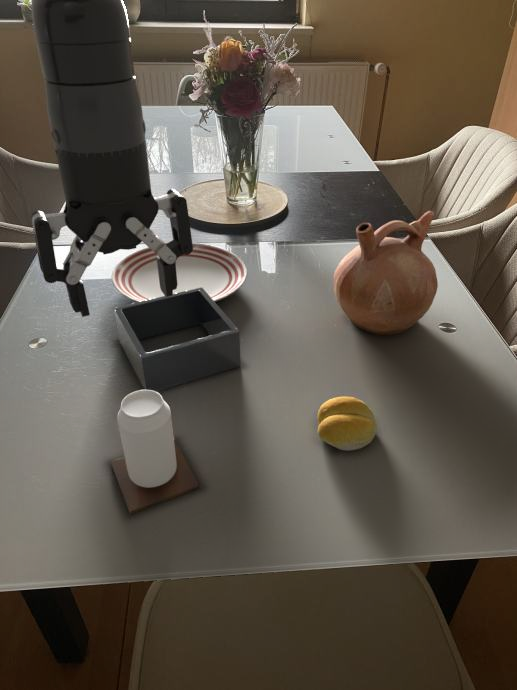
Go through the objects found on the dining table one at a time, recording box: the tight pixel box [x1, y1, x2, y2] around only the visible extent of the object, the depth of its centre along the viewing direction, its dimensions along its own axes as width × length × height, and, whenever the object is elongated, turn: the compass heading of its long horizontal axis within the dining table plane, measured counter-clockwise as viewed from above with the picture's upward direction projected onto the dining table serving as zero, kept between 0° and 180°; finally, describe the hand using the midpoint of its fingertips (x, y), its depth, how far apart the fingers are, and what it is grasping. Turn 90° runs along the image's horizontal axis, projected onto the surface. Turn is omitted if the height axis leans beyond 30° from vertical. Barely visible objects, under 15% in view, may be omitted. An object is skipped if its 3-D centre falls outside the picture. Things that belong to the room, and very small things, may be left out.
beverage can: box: [116, 389, 177, 488], centre depth 66 cm, size 6×6×12 cm
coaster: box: [110, 439, 200, 515], centre depth 69 cm, size 9×9×1 cm
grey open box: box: [113, 287, 241, 393], centre depth 89 cm, size 16×16×7 cm
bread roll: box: [317, 396, 378, 452], centre depth 75 cm, size 8×9×4 cm
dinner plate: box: [111, 242, 248, 303], centre depth 111 cm, size 27×27×3 cm
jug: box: [333, 210, 439, 336], centre depth 95 cm, size 18×18×20 cm
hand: (126, 302), depth 55 cm, fingers open, 8 cm apart
